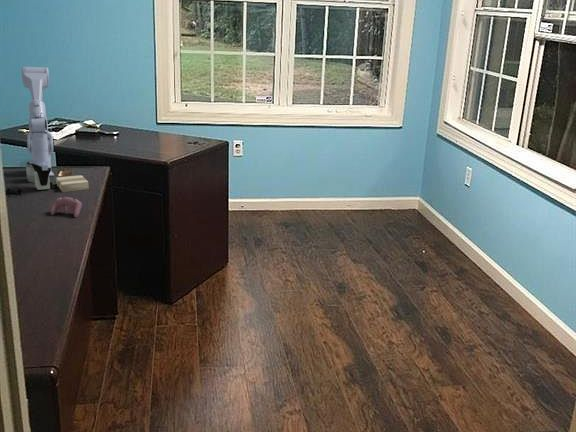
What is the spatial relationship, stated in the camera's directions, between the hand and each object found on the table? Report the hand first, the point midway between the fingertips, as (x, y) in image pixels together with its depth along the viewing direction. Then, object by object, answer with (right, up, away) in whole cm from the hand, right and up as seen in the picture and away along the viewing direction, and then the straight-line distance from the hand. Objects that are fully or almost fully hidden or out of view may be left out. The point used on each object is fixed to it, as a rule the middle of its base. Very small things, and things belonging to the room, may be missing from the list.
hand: (42, 183), depth 234 cm
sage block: (0, -2, +1) cm, 2 cm away
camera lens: (-7, +1, +10) cm, 12 cm away
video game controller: (+18, -12, -22) cm, 31 cm away
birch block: (+10, -1, +6) cm, 11 cm away
